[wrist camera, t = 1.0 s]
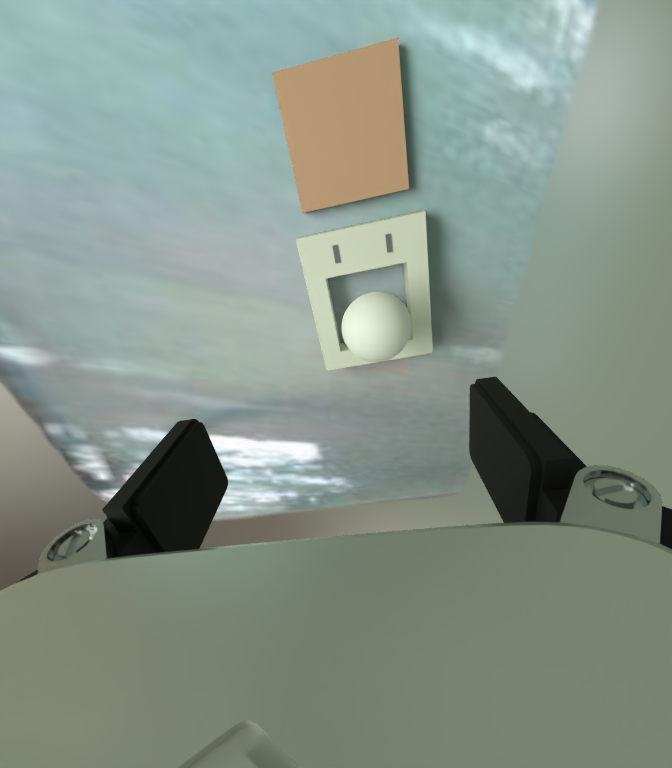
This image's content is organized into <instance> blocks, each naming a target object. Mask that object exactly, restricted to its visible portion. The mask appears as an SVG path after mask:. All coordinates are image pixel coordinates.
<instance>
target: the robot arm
mask: <svg viewBox="0 0 672 768" xmlns="http://www.w3.org/2000/svg"><path fill="white" fill-rule="evenodd" d="M469 450H470V456H471V459H472V461H473V463H474V465H475V467H476V469H477V471H478V473H479V475H480V477H481V479H482V481H483V483H484V484H485V487H486V489H487V490H488V492H489V494H490V496H491V498H492V500H493V502H494V504H495V506H496V508H497V510H498V512H499V514H500V516H501V518H502V519H503V522H504V523H492V524H476V525H465V526H452V527H437V528H425V529H413V530H402V531H390V532H378V533H366V534H354V535H343V536H332V537H321V538H309V539H299V540H287V541H276V542H266V543H255V544H244V545H233V546H224V547H214V548H203V549H199V548H200V546H201V544H202V541H203V539H204V537H205V535H206V533H207V531H208V529H209V526H210V524H211V522H212V520H213V518H214V516H215V513H216V511H217V509H218V507H219V505H220V502H221V500H222V498H223V496H224V494H225V492H226V489H227V486H228V479H227V476H226V474H225V472H224V469H223V467H222V465H221V463H220V460H219V458H218V456H217V454H216V451H215V449H214V447H213V445H212V442H211V440H210V438H209V435H208V433H207V431H206V429H205V426H204V425H203V423H201V422H199V421H198V420H196V419H191V420H184V421H179V422H177V423H176V424H175V426H174V427H173V428H172V429H171V430H170V431H169V433H168V434H167V435H166V436H165V437H164V438H163V440H162V441H161V442H160V443H159V444H158V445H157V447H156V448H155V449H154V450H153V451H152V452H151V454H150V455H149V456H148V457H147V458H146V459H145V461H144V462H143V463H142V464H141V465H140V466H139V468H138V469H137V470H136V471H135V472H134V473H133V475H132V476H131V477H130V478H129V479H128V480H127V482H126V483H125V484H124V485H123V486H122V487H121V489H120V490H119V491H118V492H117V493H116V494H115V496H114V497H113V498H112V499H111V500H110V501H109V502H108V504H107V505H106V506H105V507H104V508H103V512H104V513H105V514H106V516H107V517H108V518H107V519H106V520H105V521H104V523H103V522H102V521H101V520H99V519H90V520H86V521H82V522H80V523H78V524H76V525H73V526H72V527H70V528H68V529H67V530H65V531H63V532H62V533H61V534H60V535H58V536H57V537H56V538H55V539H54V540H53V541H52V542H51V543H49V545H47V547H46V548H45V550H44V551H43V552H42V555H41V557H40V560H39V567H38V570H36V571H35V572H33V573H31V574H30V575H28V576H26V577H25V578H23V579H21V580H20V581H18V582H16V583H15V584H13V585H11V586H10V587H8V588H6V589H4V590H2V591H0V768H672V509H669V508H666V507H663V506H662V499H661V495H660V493H659V492H658V491H657V490H656V488H655V487H654V486H653V485H651V484H650V483H649V482H647V481H646V480H645V479H643V478H641V477H639V476H638V475H635V474H634V473H632V472H629V471H626V470H623V469H620V468H615V467H610V466H597V465H595V466H589V467H586V465H585V464H583V462H582V461H581V460H580V459H579V458H578V457H577V456H576V455H575V454H574V453H573V452H572V451H571V450H570V449H569V448H568V447H567V446H566V445H565V444H564V443H563V442H562V441H561V440H560V439H559V438H558V436H557V435H555V433H553V431H552V430H551V429H550V428H549V427H548V426H547V425H546V424H545V423H544V422H543V421H542V420H541V419H540V418H539V417H538V416H537V415H536V414H534V413H531V412H529V411H528V410H527V409H526V408H525V407H524V406H523V404H522V403H521V402H520V401H518V399H517V398H516V397H515V396H514V395H513V394H512V393H511V392H510V391H509V390H508V389H507V388H506V387H505V386H504V385H503V383H502V382H501V381H500V380H499V379H498V378H497V377H490V378H483V379H477V380H476V382H475V384H471V385H470V440H469Z"/></svg>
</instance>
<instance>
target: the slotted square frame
mask: <svg viewBox="0 0 672 768" xmlns="http://www.w3.org/2000/svg"><path fill="white" fill-rule="evenodd" d="M296 242H297V247H298V251H299V255H300V259H301V264H302V268H303V272H304V276H305V281H306V285H307V289H308V293H309V298H310V302H311V306H312V310H313V315H314V319H315V323H316V327H317V332H318V336H319V340H320V344H321V349H322V353H323V357H324V361H325V366H326V370H327V371H328V370H334V369H340V368H346V367H352V366H357V365H363V364H369V363H375V362H370V361H366V360H363V359H361V358H359V357H357V356H356V355H355V354H353V353H352V352H351V351H350V350H349V348H348V347H347V345H346V343H341V342H340V337H339V332H338V327H337V323H336V318H335V313H334V308H333V303H332V298H331V293H330V288H329V283H328V278H331V277H336V276H340V275H345V274H350V273H355V272H360V271H365V270H370V269H375V268H380V267H385V266H390V265H395V264H400V263H403V269H404V280H405V291H406V303H407V310H408V312H409V314H410V318H411V334H410V338H409V340H408V342H407V344H406V346H405V347H404V349H403V350H402V351H401V352H400V353H399V354H397V355H396V356H395V357H393V358H391V359H389V360H393V359H399V358H405V357H411V356H417V355H423V354H429V353H433V344H432V326H431V307H430V289H429V270H428V251H427V233H426V214H425V211H417V212H412V213H408V214H403V215H398V216H394V217H389V218H385V219H380V220H375V221H371V222H366V223H362V224H357V225H352V226H348V227H343V228H339V229H334V230H329V231H325V232H320V233H316V234H311V235H307V236H302V237H298V238H297V239H296ZM386 361H387V360H386Z"/></svg>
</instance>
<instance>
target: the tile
mask: <svg viewBox="0 0 672 768" xmlns="http://www.w3.org/2000/svg"><path fill="white" fill-rule="evenodd" d="M272 74H273V79H274V84H275V88H276V93H277V97H278V102H279V106H280V111H281V116H282V120H283V125H284V129H285V134H286V139H287V143H288V148H289V152H290V157H291V162H292V166H293V171H294V175H295V180H296V185H297V189H298V194H299V198H300V203H301V207H302V212H303V213H305V212H310V211H314V210H318V209H323V208H327V207H332V206H336V205H341V204H345V203H349V202H354V201H358V200H363V199H367V198H372V197H376V196H380V195H385V194H389V193H394V192H398V191H403V190H407V189H409V180H408V166H407V152H406V139H405V125H404V112H403V98H402V84H401V71H400V57H399V43H398V38H396V39H392V40H389V41H385V42H382V43H378V44H374V45H371V46H367V47H364V48H360V49H356V50H353V51H349V52H346V53H342V54H339V55H335V56H331V57H328V58H324V59H321V60H317V61H314V62H310V63H306V64H303V65H299V66H296V67H292V68H288V69H285V70H281V71H278V72H274V73H272Z"/></svg>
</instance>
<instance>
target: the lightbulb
mask: <svg viewBox="0 0 672 768" xmlns="http://www.w3.org/2000/svg"><path fill="white" fill-rule="evenodd" d="M410 334H411V318H410V314H409V312H408V310H407V308H406V306H405V305H404V304H403V303H402V301H400V300H399V299H398V298H397V297H395V296H393V295H391V294H388V293H385V292H370V293H367V294H364V295H362V296H360V297H358V298H357V299H355V300H354V301H353V302H352V303H351V304H350V305H349V307H348V308H347V310H346V312H345V313H344V316H343V320H342V336H343V339H344V342H345V343H346V345H347V347H348V348H349V350H350V351H351V352H352V353H353V354H355V355H356V356H357V357H359V358H361V359H363V360H366V361H370V362H382V361H386V360H389V359H391V358H393V357H395V356H396V355H397V354H399V353H400V352H401V351H402V350H403V349H404V347H405V346H406V344H407V342H408V340H409V338H410Z"/></svg>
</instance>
